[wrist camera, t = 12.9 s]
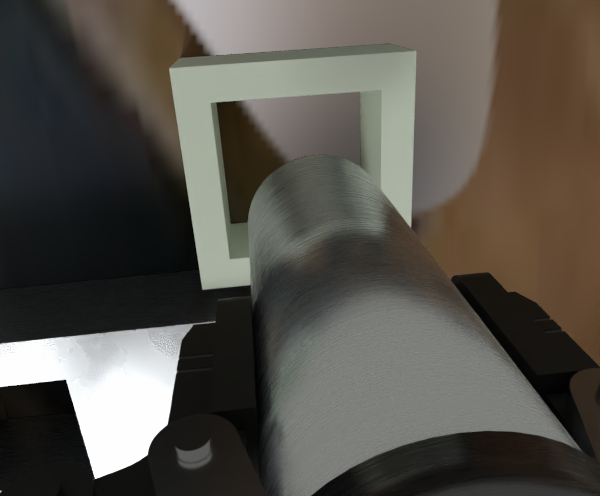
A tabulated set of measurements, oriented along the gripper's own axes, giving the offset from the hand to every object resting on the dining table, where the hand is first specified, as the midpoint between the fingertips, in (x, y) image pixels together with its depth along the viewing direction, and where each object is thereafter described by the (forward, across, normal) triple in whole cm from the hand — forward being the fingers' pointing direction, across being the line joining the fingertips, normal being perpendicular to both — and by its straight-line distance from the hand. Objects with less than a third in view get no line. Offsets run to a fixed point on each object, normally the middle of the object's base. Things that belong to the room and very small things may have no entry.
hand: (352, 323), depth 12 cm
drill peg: (+6, 0, 0) cm, 6 cm away
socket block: (+15, +9, +10) cm, 20 cm away
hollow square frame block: (+15, 0, 0) cm, 15 cm away
